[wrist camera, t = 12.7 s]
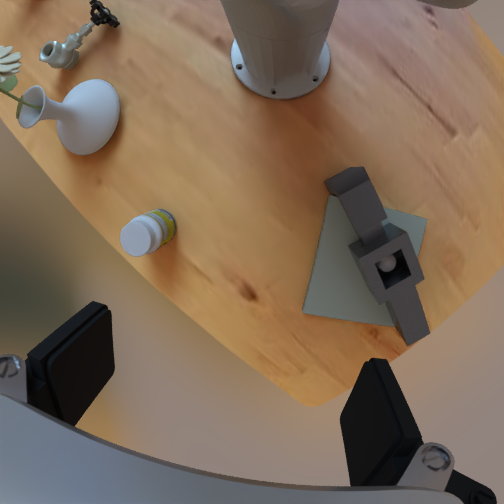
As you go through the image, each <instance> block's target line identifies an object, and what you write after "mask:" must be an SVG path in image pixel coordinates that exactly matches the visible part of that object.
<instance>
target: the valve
mask: <svg viewBox="0 0 504 504" xmlns="http://www.w3.org/2000/svg"><path fill="white" fill-rule="evenodd" d="M89 3H90V4H91V5H92V4H93V3H94V4H93V5H92V6H91V7H92V9H91V12H90V14H91V16H92V17H91V18H90V19H91V22H90V23H89V24H84V25H83V26H82V27H81V28H80V29H79V31H80V32H78V33H75V34H69V35H68V36H67V37H66V41H65V42H64V43H58V42H56V41H48V42H47V43H46V44H45V45H44V46H43V47H42V49H41V50H40V55H39V61H42V62H45V63H48V64H49V65H50V66H51V67H53V68H63V69H67V70H72V69H73V68H74V67H75V66H76V64H77V63H78V62H79V52H78V51H76V50H75V49H78V48H79V47H80V46H81V45H82V42H81V41H82V40H83V38H82V37H83V36H87V35H88V34H89V33H90V32H92V27H93V26H95V25H97V26H99V25H100V24H106V23H108V24H109V25H110V26H112V25H113V27H114V28H116V27H117V26H118V25H120V23H119V21H118V20H117V18H116V17H115V16H114V15H112V14H111V13H110V12H111V11H110V10H109V9H108V8H105V7H104V6H103V4H102V3H101V2H100V1H97V0H91V1H90V2H89ZM96 9H97V10H98V11H99V12H97V13H96V14H95V13H94V11H95V10H96Z"/></svg>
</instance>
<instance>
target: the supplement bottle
mask: <svg viewBox="0 0 504 504" xmlns="http://www.w3.org/2000/svg"><path fill="white" fill-rule="evenodd" d="M176 228H177V226H176V221H175V219H174V217H173V215H172V214H171V213H170V212H168V211H166V210H163V209H156V210H153V211H151V212H148V213H145V214H143V215H140V216H137V217H135V218H133V219H132V220H131V221H130V222H129V223H128V224H127V225H125V226H124V227H123V229H122V231H121V234H120V241H121V245H122V247H123V249H124V250H125V251H126V252H127V253H128V254H129V255H132V256H135V257H139V256H142V255H144V254H150V253H152V252H154V251H156V250H157V249H159V248H160V247H161V246H163V245H164V244H166V243H167V242H168V241H170V240H171V239H172V238H173V237H174V235H175V233H176Z"/></svg>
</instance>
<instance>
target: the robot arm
mask: <svg viewBox="0 0 504 504" xmlns="http://www.w3.org/2000/svg"><path fill="white" fill-rule="evenodd" d="M417 1H420V2H423V3H427V4H430V5H433V6H437V7H441V8H448V9H459V8H464V7H467V6H469V5H471V4H473V3H475V2H476V1H477V0H417ZM221 3H222V5H223V8H224V11H225V13H226V16H227V19H228V21H229V24H230V26H231V29H232V32H233V34H234V37H235V39H234V41H233V44H232V47H231V55H230V56H231V64H232V67H233V69H234V72H235V74H236V76H237V77H238V79H239V80H240V81H241V82H242V84H243V85H245V86H246V87H247V88H248V89H249V90H251V91H253V92H254V93H256V94H258V95H261V96H263V97H266V98H271V99H280V100H286V99H294V98H297V97H301V96H304V95H306V94H308V93H309V92H311V91H313V90H314V89H315V88H316V87H318V86H319V85H320V83H321V82H322V81H323V80H324V78H325V76H326V74H327V72H328V69H329V66H330V59H331V58H330V50H329V47H328V43H327V42H326V38H327V35H328V32H329V29H330V26H331V24H332V21H333V18H334V15H335V12H336V9H337V6H338V3H339V0H221ZM240 67H241V68H242V69H241V70H238V68H240ZM313 79H316V80H317V81H316V82H314V81H313ZM273 91H274V92H276V94H274V95H273V94H272V92H273ZM27 356H28V358H27V359H26V360H25V361H24V360H23V359H22V358H21V357H20V356H18V355H15V354H2V355H0V504H497V501H496V497H495V494H494V493H493V491H492V490H491V489H489V488H488V487H486V486H484V485H482V484H480V483H478V482H476V481H474V480H472V479H470V478H469V477H467V476H465V475H463V474H461V473H459V472H457V471H455V470H454V469H453V467H454V457H453V455H452V453H451V452H450V451H449V450H448V449H447V448H446V447H445V446H443V445H441V444H438V443H433V442H430V443H425V444H424V443H423V441H422V436H421V433H420V431H419V429H418V426H417V424H416V422H415V419H414V417H413V415H412V413H411V410H410V408H409V406H408V404H407V401H406V399H405V397H404V395H403V393H402V391H401V388H400V386H399V384H398V382H397V380H396V378H395V376H394V374H393V371H392V369H391V367H390V365H389V363H388V361H387V360H386V359H379V358H371V359H370V360H369V361H366V362H365V363H364V364H363V367H362V369H361V371H360V374H359V376H358V378H357V381H356V383H355V385H354V387H353V390H352V392H351V394H350V396H349V398H348V400H347V402H346V404H345V407H344V409H343V411H342V413H341V416H340V424H341V430H342V436H343V442H344V446H345V453H346V459H347V465H348V472H349V478H350V485H351V486H350V487H349V486H348V487H347V486H344V487H341V486H340V487H339V486H311V485H296V484H283V483H274V482H266V481H258V480H251V479H245V478H239V477H233V476H227V475H221V474H216V473H212V472H207V471H203V470H199V469H194V468H190V467H186V466H182V465H179V464H175V463H171V462H168V461H164V460H161V459H158V458H154V457H151V456H148V455H145V454H142V453H139V452H136V451H133V450H130V449H127V448H125V447H122V446H119V445H117V444H114V443H111V442H109V441H106V440H104V439H102V438H99V437H97V436H94V435H92V434H89V433H87V432H85V431H83V430H81V429H78V428H76V427H74V426H75V425H76V424H77V422H78V421H79V420H80V418H81V417H82V415H83V414H84V413H85V411H86V410H87V409H88V407H89V406H90V405H91V403H92V402H93V401H94V399H95V398H96V396H97V395H98V394H99V393H100V391H101V390H102V389H103V387H104V386H105V385H106V383H107V382H108V381H109V379H110V378H111V377H112V375H113V373H114V370H115V364H114V351H113V337H112V315H111V311H110V310H108V307H107V306H106V305H104V304H101V303H98V302H95V301H92V302H90V303H89V304H88V305H87V306H85V307H84V308H83V309H81V311H79V312H78V313H76V314H75V315H74V316H73V317H71V318H70V319H69V320H68V321H66V322H65V323H64V324H63V325H61V326H60V327H59V328H58V329H56V330H55V331H54V332H53V333H52V334H50V335H49V336H48V337H47V338H46V339H44V340H43V341H42V342H41V343H39V344H38V345H37V346H36V347H35V348H34V349H33V350H31V351H30V352H29V353H28V354H27Z"/></svg>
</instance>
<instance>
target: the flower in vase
mask: <svg viewBox="0 0 504 504" xmlns="http://www.w3.org/2000/svg"><path fill="white" fill-rule="evenodd" d="M12 49H13V47H12V46H8V47H6V48H5V47H4V46H0V92H2V93H4V94H6V95H8V96H9V97H11V98H13V99H15V100H16V101H18V102H19V103H18V106H17V112H16V118H17V119H18V122H19V124H20V125H21V126H22V127H23V128H30V127H32V126H34V125H35V124H36V123H37V122H38V121H40V120H45V119H55V120H57V132H58V136H59V139H60V141H61V143H62V144H63V146H64V147H65V148H66V149H68V150H69V151H70V152H72V153H74V154H77V155H88V154H91V153H94V152H96V151H98V150H99V149H100V148H102V147H103V146H104V145H105V144H106V143H107V142H108V140H109V139H110V138H111V136H112V134H113V133H114V131H115V128H116V126H117V123H118V119H119V114H120V103H119V98H118V95H117V92H116V90H115V89H114V88H113V86H112V85H111V84H109V83H108V82H106V81H104V80H99V79H93V80H88V81H85V82H82V83H80V84H78V85H77V86H75V87H74V88H73V89H72V90H71V91H70V92H69V93H68V94H67V96H66V97H65V99H64V100H63V102H62V103H59V102H56V101H53V100H51V99H49V98H48V97H47V96H46V95H45V92H44V90H43V89H42V88H41V87H40V86H32V87H31V88H29V89H28V90H27V91H26V92H25V93H24V95H22V96H21V98H20V99H19V98H17V97H16V96H14V95H12V94H10V93H8V92H9V91H11V90H12V89H13V88H14V87H15V86H16V85H17V82H18V81H17V78H16V76H15V75H14V74H15V73H18V72H19V71H20V70H19V69H18V68H19V67H20V66H21V62H18V61H19V60H20V59H21V58H22V56H21V53H19V52H17V53H10V52H11V51H12ZM9 53H10V54H9Z"/></svg>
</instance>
